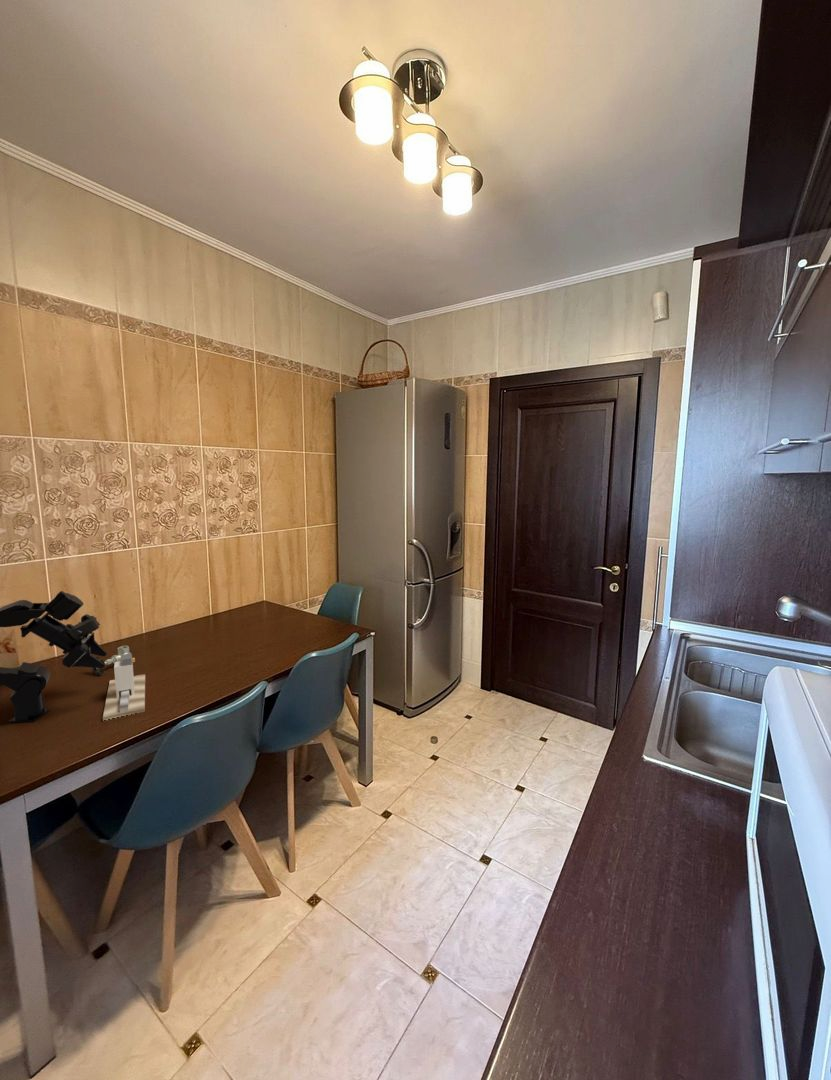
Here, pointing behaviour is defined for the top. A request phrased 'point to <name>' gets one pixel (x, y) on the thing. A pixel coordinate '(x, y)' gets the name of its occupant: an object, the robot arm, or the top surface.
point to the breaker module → (124, 674)
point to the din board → (133, 699)
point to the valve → (112, 659)
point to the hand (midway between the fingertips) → (104, 660)
